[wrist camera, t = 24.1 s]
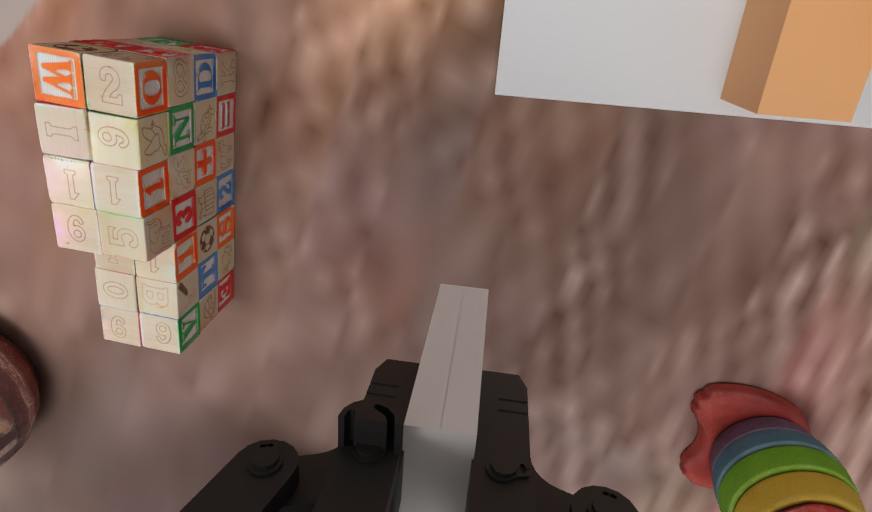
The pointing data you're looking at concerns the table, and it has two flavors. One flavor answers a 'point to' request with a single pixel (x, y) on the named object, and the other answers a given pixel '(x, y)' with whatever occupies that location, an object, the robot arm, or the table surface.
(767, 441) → the stacking bear
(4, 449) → the pottery
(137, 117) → the stack of blocks
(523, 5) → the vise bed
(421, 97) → the table surface
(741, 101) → the block
